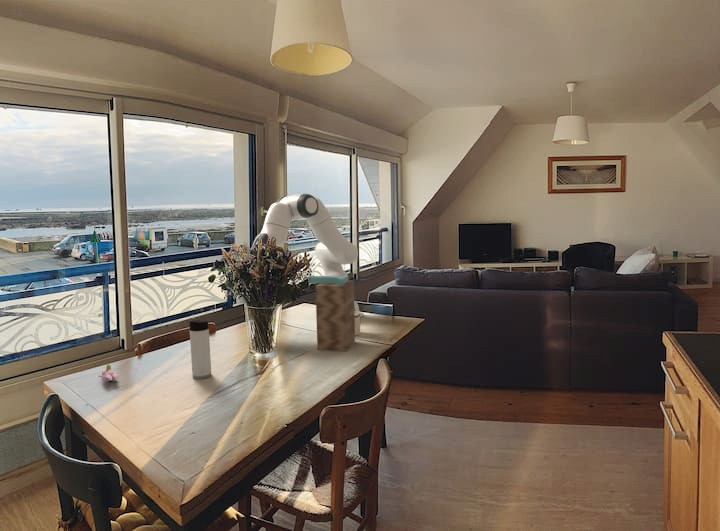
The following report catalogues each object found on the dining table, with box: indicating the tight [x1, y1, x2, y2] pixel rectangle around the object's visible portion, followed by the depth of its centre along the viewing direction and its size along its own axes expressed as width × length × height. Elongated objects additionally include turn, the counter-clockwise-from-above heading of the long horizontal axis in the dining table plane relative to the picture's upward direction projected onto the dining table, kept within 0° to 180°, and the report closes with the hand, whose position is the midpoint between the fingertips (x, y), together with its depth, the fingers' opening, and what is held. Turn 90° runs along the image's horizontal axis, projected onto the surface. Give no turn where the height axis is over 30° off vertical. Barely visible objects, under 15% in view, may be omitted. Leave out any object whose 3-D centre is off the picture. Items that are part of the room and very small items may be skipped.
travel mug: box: [188, 319, 212, 380], centre depth 176 cm, size 6×7×20 cm
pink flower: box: [98, 364, 120, 382], centre depth 174 cm, size 6×6×15 cm
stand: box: [315, 279, 356, 352], centre depth 209 cm, size 12×14×26 cm
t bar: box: [303, 275, 349, 285], centre depth 208 cm, size 18×8×2 cm, turn 77°
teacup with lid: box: [354, 310, 361, 336], centre depth 228 cm, size 12×9×12 cm
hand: (310, 278), depth 209 cm, fingers closed on t bar, 3 cm apart
